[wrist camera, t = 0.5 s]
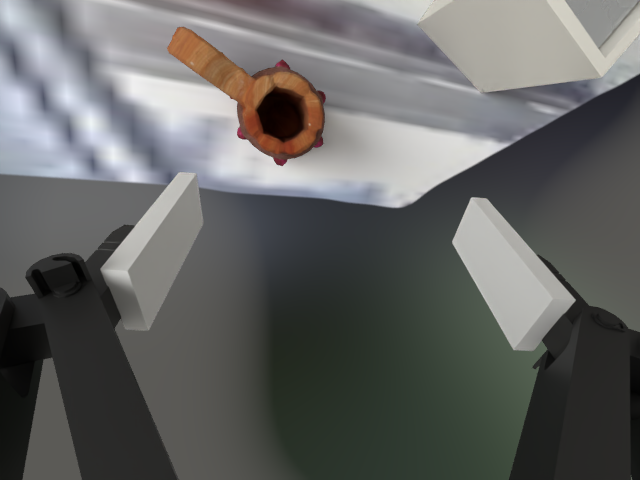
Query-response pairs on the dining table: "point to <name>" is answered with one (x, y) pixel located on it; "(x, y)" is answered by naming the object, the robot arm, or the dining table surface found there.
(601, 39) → the plunger
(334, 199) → the dining table surface
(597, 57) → the white open box
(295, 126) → the mug
